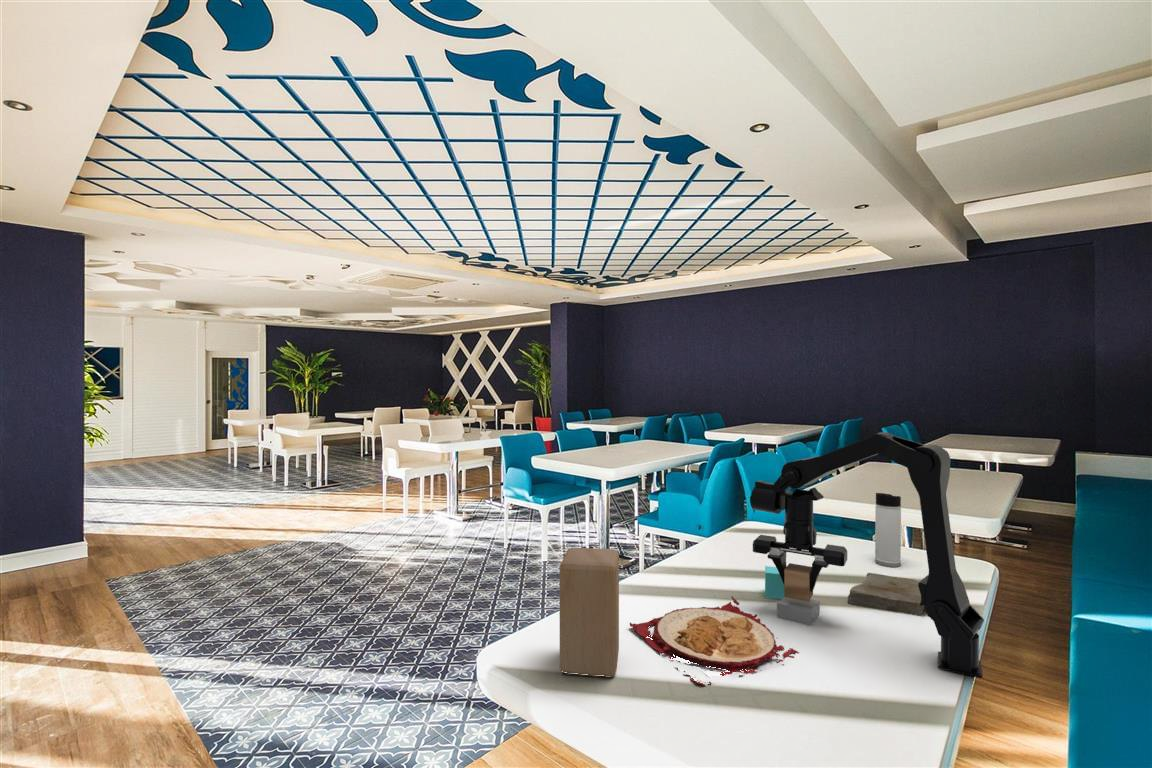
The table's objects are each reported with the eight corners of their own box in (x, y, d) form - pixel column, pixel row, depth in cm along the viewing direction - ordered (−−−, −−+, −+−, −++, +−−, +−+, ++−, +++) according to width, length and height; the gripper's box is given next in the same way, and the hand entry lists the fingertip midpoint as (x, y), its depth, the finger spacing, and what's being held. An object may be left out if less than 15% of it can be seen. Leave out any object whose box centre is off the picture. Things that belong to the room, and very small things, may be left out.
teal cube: (787, 600, 133) (787, 574, 133) (765, 597, 134) (765, 572, 134) (786, 592, 138) (786, 568, 137) (765, 590, 139) (765, 566, 139)
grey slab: (810, 627, 119) (810, 611, 119) (776, 618, 123) (777, 602, 123) (819, 616, 124) (819, 600, 124) (787, 608, 129) (787, 593, 129)
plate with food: (628, 632, 118) (627, 615, 118) (730, 608, 128) (730, 593, 128) (698, 694, 95) (698, 674, 95) (816, 659, 106) (816, 641, 106)
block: (558, 676, 99) (558, 562, 99) (567, 648, 109) (567, 545, 109) (615, 680, 98) (615, 565, 97) (619, 652, 108) (619, 547, 107)
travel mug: (869, 562, 160) (869, 491, 160) (885, 558, 163) (885, 489, 162) (889, 569, 154) (890, 495, 154) (905, 565, 157) (906, 493, 157)
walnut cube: (808, 601, 120) (808, 573, 120) (784, 596, 123) (784, 569, 123) (813, 594, 124) (813, 567, 124) (789, 589, 127) (789, 563, 127)
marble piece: (847, 605, 130) (847, 587, 130) (851, 585, 143) (851, 568, 143) (932, 620, 122) (932, 601, 122) (928, 597, 135) (928, 580, 135)
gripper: (850, 515, 125) (850, 585, 125) (764, 505, 135) (764, 570, 135) (843, 526, 116) (843, 602, 116) (751, 515, 126) (751, 584, 126)
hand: (798, 588), depth 124 cm, fingers closed on walnut cube, 5 cm apart
